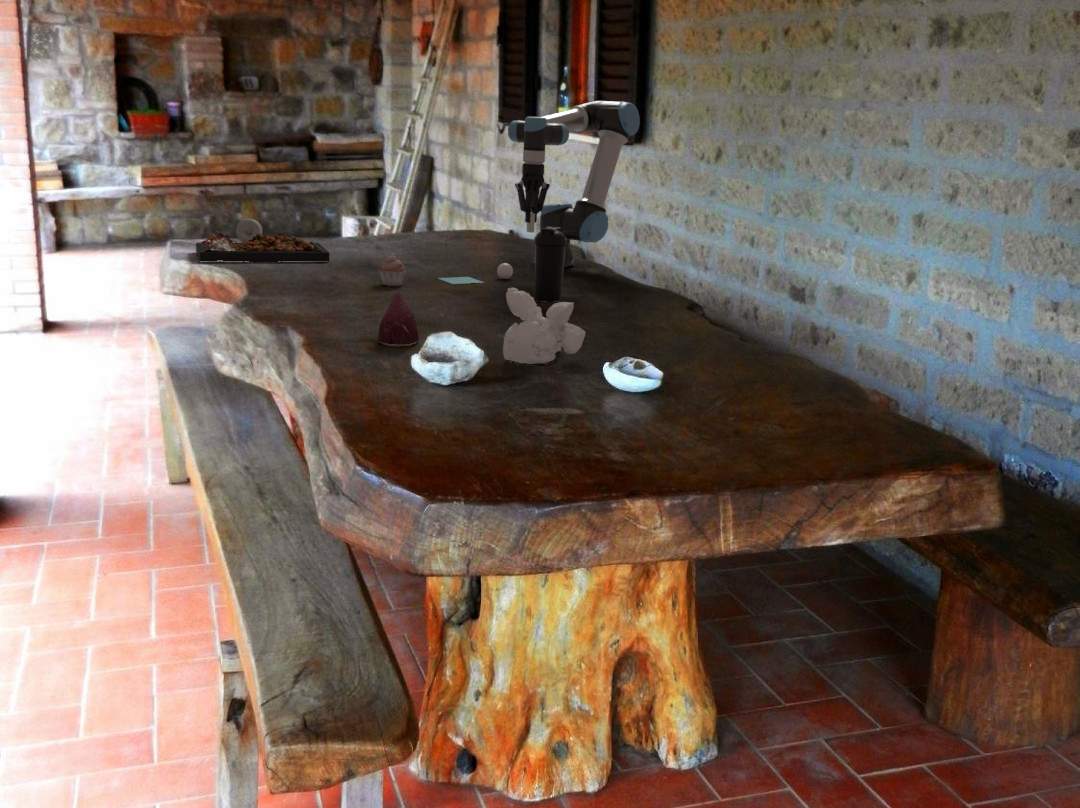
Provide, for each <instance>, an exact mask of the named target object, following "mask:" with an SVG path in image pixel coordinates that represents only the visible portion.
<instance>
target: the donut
mask: <svg viewBox="0 0 1080 808" xmlns="http://www.w3.org/2000/svg"><path fill="white" fill-rule="evenodd" d="M247 228H252V230H253V231H252V232H253V233H252V234H250V235H248V234H247V233H246V229H247ZM235 234H236V236H237V238H238V240H240V242H241V243H244V242H245V241H247V240H250V239H253V236H254V235H255V236H256V234H263V228H262V225H261V224H260V223H259V221H257V220H256V219H253V218H244V219H241V220H240V221H239V222H238V223H237V226H236V229H235Z"/></svg>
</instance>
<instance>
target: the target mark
mask: <svg viewBox="0 0 1080 808" xmlns="http://www.w3.org/2000/svg"><path fill="white" fill-rule="evenodd" d="M436 279H437V280H439V281H442V282H445V283H447V284H450V285H453V286H454V285H470V284H471V283H476V284H485V282H484V281H481V280H479V279H476V278H473V277H470V276H459V277H456V276H455V277H452V276H451V277H437V278H436Z"/></svg>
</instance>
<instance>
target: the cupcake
mask: <svg viewBox="0 0 1080 808" xmlns="http://www.w3.org/2000/svg"><path fill="white" fill-rule="evenodd" d="M406 273H407V270H405V265H404V264H403V262H402V261H401V260H400V259H397V258H396V257H395V255H394V254H392V255H389V256H388V257H387V258H385V260H384V261H383V262H382V263H381V264H380V269H378V274H379V276H380V279H381V284H382V285H383V284H384V285H389V286H397V287H401V286H402V285H403V281H404V277H405V276H406ZM384 285H383V286H384ZM400 285H401V286H400ZM389 286H388V287H389Z"/></svg>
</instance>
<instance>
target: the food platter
mask: <svg viewBox="0 0 1080 808" xmlns="http://www.w3.org/2000/svg"><path fill="white" fill-rule="evenodd" d="M213 229H214V230H216V228H215V227H213ZM206 238H207V239H205V240H202V241H200V242H196V243H195V253H196V252H197V253H196V256H197V255H198V256H197V258H198V257H199V259H198V261H199V260H200V261H217V260H223V261H243V262H244V261H249V262H278V261H281V262H282V261H329V262H330V252H329V250H327V249H326V248H325V247H324V246H323V245H321V243H319V242H313V241H307V240H304V239H302V238H297V237H296V235H291V236H287V234H284V235H278V234H277V233H273V234H272V235H271V236H270V235H268V234H265V235H264V234H263V233H262V234H256V236H255V235H254V236H253V239H250V240H247V241H245V242H237V241H236V240H233V239H231V236H229V233H226V234H224V233H222V232H221V231H215V233H213V232H211V235H210V236H206ZM200 261H199V262H200Z"/></svg>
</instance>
